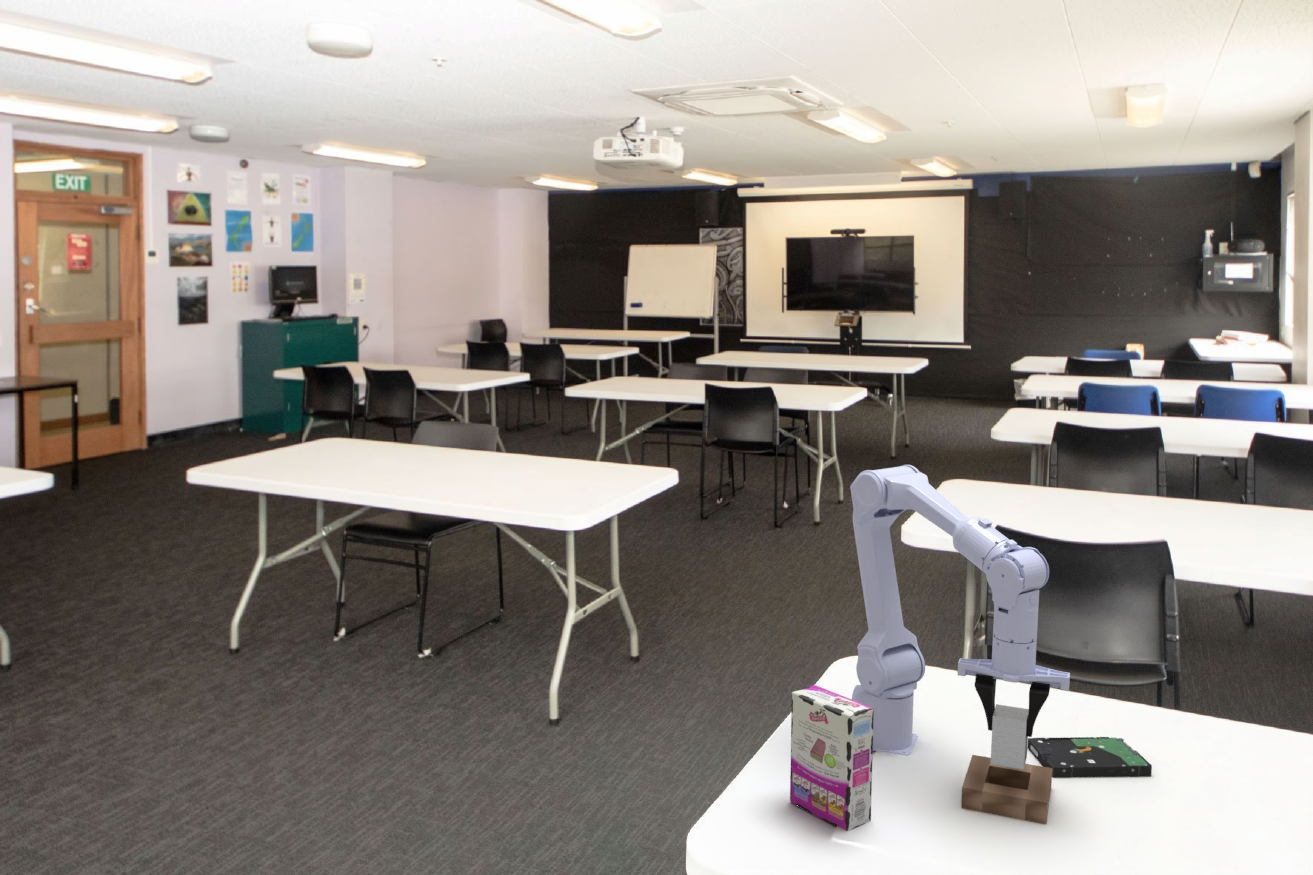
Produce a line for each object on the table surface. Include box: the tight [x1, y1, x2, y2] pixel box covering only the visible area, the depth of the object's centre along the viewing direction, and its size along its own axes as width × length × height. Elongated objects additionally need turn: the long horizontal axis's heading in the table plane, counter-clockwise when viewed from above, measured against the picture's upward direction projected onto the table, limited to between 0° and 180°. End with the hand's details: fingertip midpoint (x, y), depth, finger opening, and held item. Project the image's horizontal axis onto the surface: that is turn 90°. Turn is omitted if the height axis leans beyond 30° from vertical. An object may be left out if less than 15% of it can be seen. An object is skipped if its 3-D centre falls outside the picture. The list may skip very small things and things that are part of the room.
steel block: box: [990, 703, 1029, 770], centre depth 145 cm, size 4×4×7 cm
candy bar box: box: [789, 684, 874, 832], centre depth 143 cm, size 11×5×16 cm, turn 37°
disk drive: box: [1027, 736, 1153, 779], centre depth 158 cm, size 10×3×15 cm
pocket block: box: [960, 754, 1053, 825], centre depth 147 cm, size 11×11×4 cm
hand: (1010, 730), depth 145 cm, fingers closed on steel block, 4 cm apart
